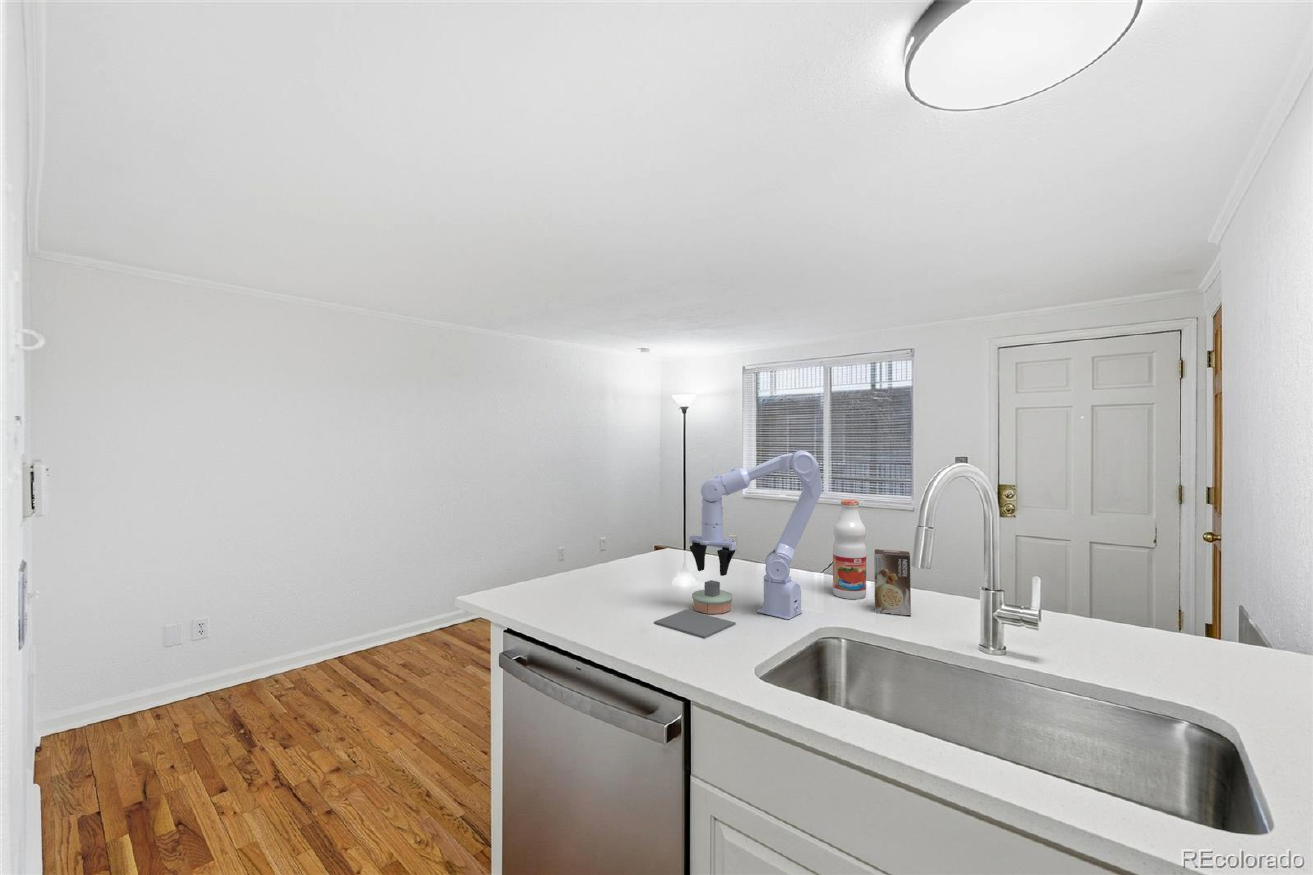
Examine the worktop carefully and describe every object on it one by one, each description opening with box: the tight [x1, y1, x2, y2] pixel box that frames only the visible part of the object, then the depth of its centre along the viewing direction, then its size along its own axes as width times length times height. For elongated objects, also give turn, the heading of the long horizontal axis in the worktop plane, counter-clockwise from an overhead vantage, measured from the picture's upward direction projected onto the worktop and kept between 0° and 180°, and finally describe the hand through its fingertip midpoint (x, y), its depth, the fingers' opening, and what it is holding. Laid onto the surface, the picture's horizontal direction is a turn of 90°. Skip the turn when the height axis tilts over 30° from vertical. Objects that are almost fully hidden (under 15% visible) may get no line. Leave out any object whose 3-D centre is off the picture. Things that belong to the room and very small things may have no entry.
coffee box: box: [873, 548, 912, 616], centre depth 159 cm, size 9×6×16 cm
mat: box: [653, 609, 736, 639], centre depth 149 cm, size 16×13×1 cm
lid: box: [691, 580, 733, 604], centre depth 162 cm, size 11×11×4 cm
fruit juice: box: [832, 499, 867, 600], centre depth 174 cm, size 9×9×28 cm
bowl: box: [692, 599, 733, 615], centre depth 162 cm, size 10×10×3 cm
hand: (712, 572), depth 161 cm, fingers open, 7 cm apart
